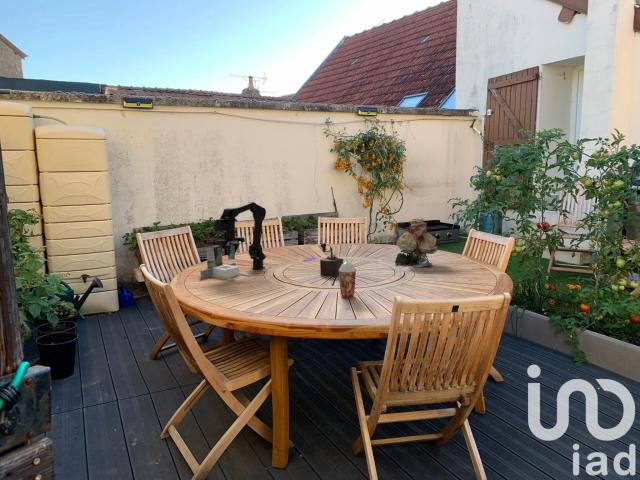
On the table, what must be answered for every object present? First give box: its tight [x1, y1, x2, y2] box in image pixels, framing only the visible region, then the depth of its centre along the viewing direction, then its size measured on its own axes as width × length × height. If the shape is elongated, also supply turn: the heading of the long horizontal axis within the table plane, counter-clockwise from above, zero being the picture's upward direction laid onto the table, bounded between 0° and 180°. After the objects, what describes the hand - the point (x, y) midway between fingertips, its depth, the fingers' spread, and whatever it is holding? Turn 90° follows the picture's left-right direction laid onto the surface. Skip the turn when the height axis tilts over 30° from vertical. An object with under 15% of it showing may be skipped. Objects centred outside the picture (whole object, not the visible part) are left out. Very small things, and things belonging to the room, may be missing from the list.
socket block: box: [213, 264, 240, 278], centre depth 264 cm, size 11×11×5 cm
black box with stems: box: [319, 242, 344, 278], centre depth 263 cm, size 16×11×18 cm
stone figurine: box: [394, 218, 438, 268], centre depth 286 cm, size 26×29×30 cm
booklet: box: [302, 257, 318, 262], centre depth 303 cm, size 12×25×1 cm, turn 54°
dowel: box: [227, 244, 236, 260], centre depth 262 cm, size 4×4×8 cm
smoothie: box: [338, 256, 357, 299], centre depth 214 cm, size 8×8×20 cm
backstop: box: [200, 262, 251, 282], centre depth 262 cm, size 26×21×5 cm
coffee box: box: [205, 244, 224, 269], centre depth 276 cm, size 9×6×16 cm
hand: (231, 255), depth 262 cm, fingers closed on dowel, 4 cm apart
